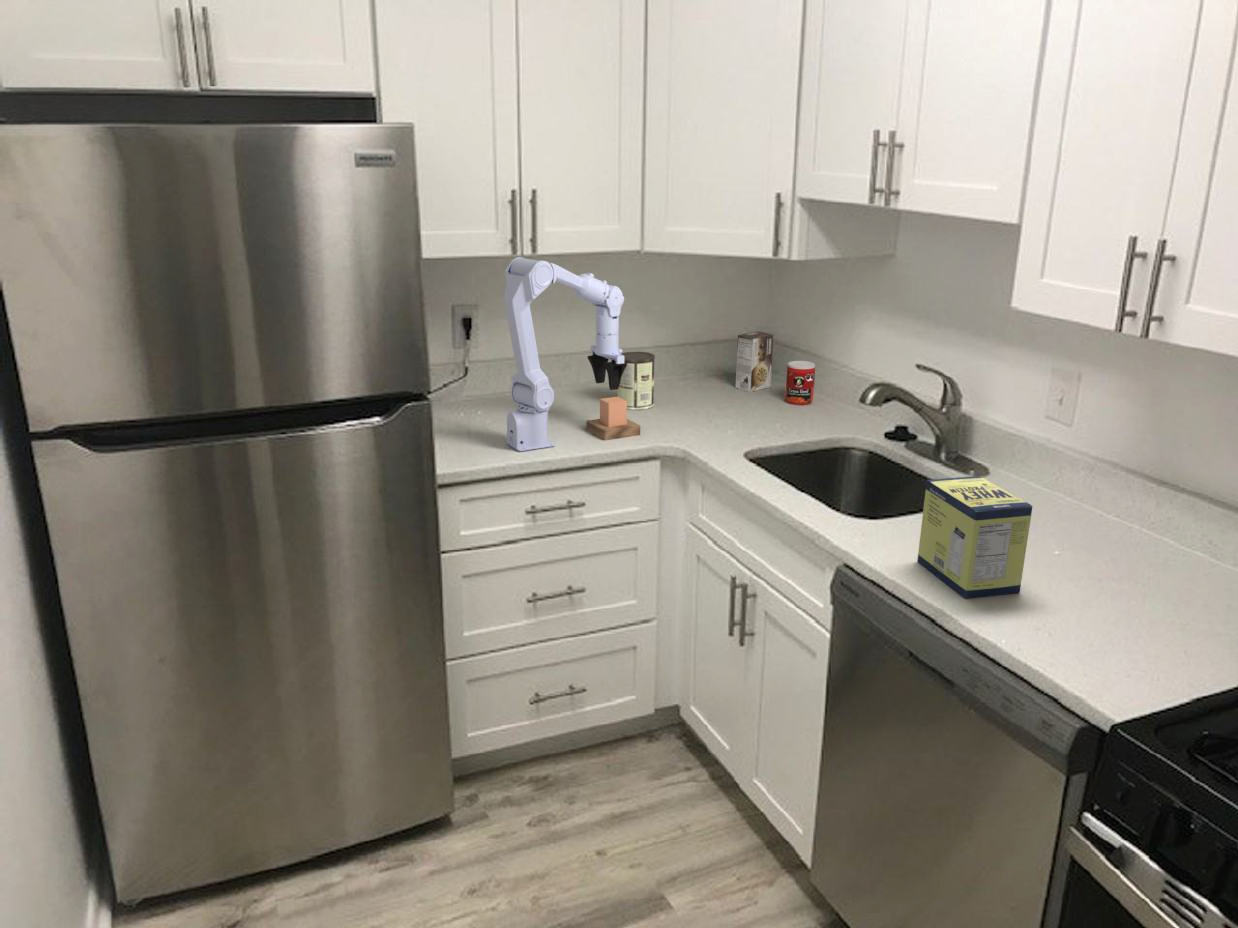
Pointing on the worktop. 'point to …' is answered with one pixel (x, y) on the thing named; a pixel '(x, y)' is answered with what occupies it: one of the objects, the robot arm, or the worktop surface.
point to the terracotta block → (613, 411)
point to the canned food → (800, 382)
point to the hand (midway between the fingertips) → (607, 386)
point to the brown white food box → (754, 361)
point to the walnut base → (612, 430)
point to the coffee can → (638, 380)
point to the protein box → (974, 536)
